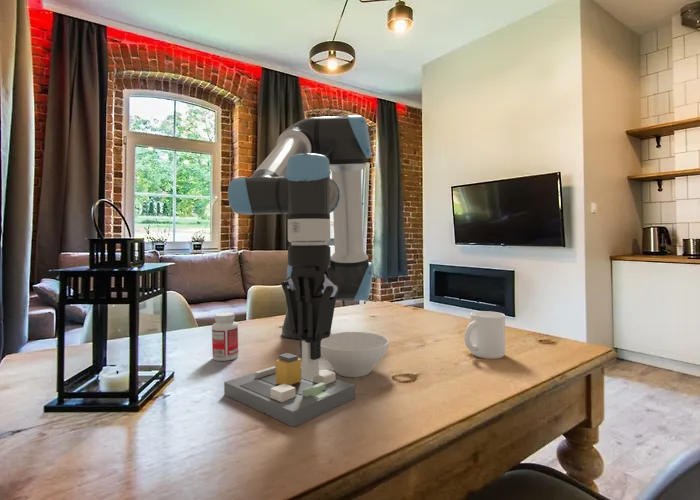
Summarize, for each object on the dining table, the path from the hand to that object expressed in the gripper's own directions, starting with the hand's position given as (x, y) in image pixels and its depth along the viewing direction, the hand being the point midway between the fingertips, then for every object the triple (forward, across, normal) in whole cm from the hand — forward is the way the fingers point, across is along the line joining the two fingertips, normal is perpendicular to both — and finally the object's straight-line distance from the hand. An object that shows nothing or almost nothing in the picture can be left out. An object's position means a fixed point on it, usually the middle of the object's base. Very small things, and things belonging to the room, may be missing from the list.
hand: (310, 375), depth 71 cm
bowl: (+6, -6, +18) cm, 20 cm away
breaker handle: (+3, -6, 0) cm, 6 cm away
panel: (+5, -6, 0) cm, 8 cm away
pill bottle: (+6, -37, +6) cm, 38 cm away
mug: (+6, +11, +48) cm, 50 cm away
